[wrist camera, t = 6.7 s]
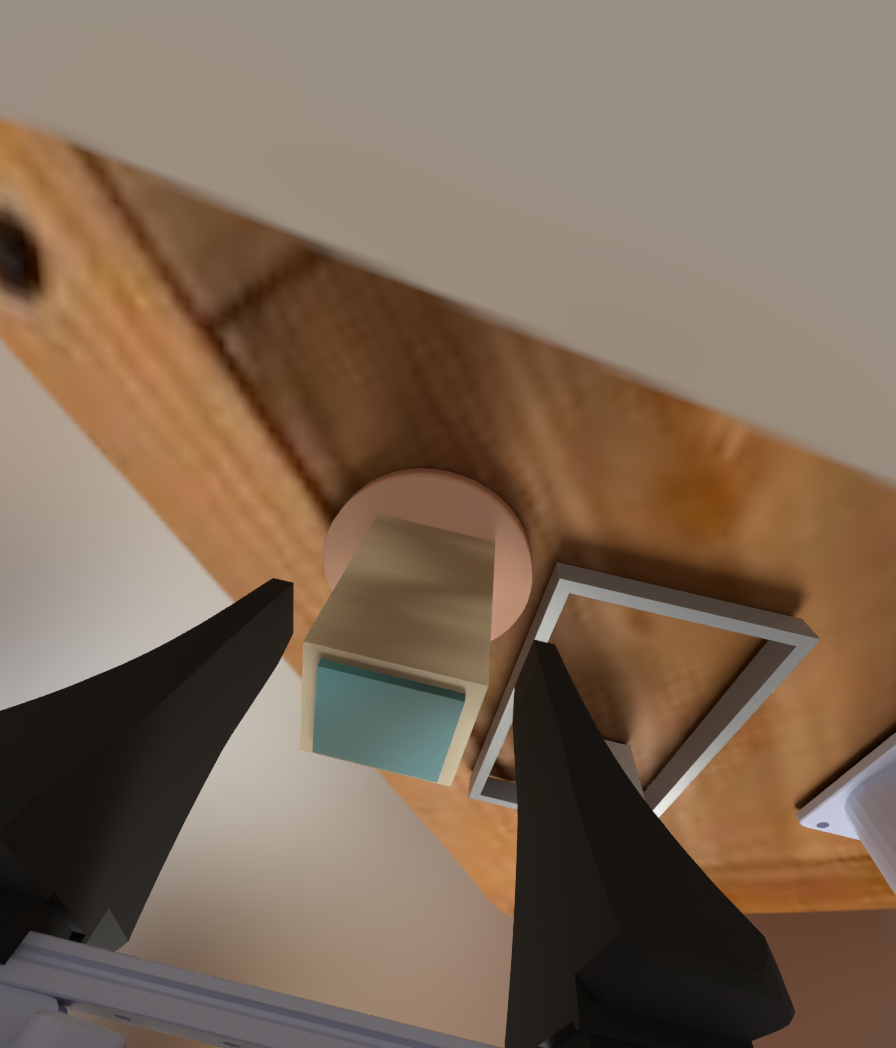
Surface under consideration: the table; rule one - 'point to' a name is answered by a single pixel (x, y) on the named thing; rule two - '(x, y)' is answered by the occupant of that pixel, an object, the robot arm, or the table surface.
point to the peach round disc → (445, 507)
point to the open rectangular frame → (754, 683)
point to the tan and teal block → (401, 652)
